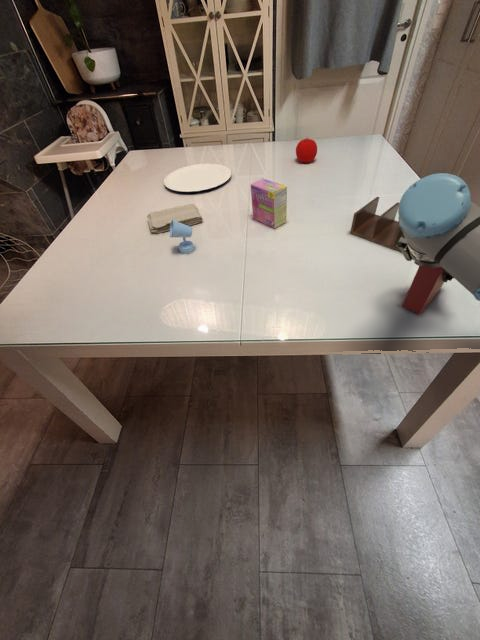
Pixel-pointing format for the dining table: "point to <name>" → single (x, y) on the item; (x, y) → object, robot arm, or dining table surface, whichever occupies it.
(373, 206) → the rack
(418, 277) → the upright red slab
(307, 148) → the fruit
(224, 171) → the plate
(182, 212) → the washcloth
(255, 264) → the dining table surface
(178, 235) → the spotlight
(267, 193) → the box
